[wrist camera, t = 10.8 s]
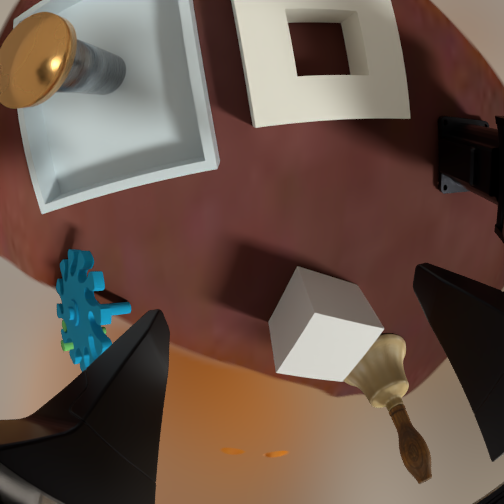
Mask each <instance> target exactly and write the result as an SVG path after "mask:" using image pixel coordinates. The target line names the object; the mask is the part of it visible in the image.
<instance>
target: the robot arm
mask: <svg viewBox="0 0 504 504" xmlns="http://www.w3.org/2000/svg"><path fill="white" fill-rule="evenodd" d="M495 119H496V124H497V128H498V130H497V129H493V128H489V124H488V123H487V122H486V121H481V120H474V119H466V118H457V117H447V116H440V117H439V119H438V129H439V183H438V188H439V191H440V192H442V193H455V192H466V191H471V192H473V193H475V194H477V195H479V196H481V197H483V198H485V199H487V200H489V201H491V202H493V203H495V204H496V205H498V212H497V222H496V224H495V233H496V234H497V235H498V236H499V238H500V239H501V240H502V241H503V243H504V116H495ZM443 121H445V124H443ZM484 125H485V127H484ZM444 185H445V187H444V189H443V186H444ZM413 289H414V292H415V294H416V296H417V298H418V300H419V302H420V304H421V306H422V309H423V311H424V313H425V315H426V318H427V320H428V322H429V324H430V326H431V327H432V329H433V331H434V333H435V335H436V336H437V338H438V340H439V342H440V344H441V346H442V347H443V349H444V351H445V353H446V355H447V357H448V359H449V361H450V363H451V365H452V367H453V369H454V371H455V373H456V375H457V377H458V379H459V381H460V383H461V385H462V388H463V390H464V392H465V394H466V396H467V399H468V401H469V403H470V405H471V408H472V410H473V412H474V414H475V417H476V420H477V422H478V425H479V428H480V430H481V433H482V435H483V438H484V441H485V443H486V446H487V449H488V452H489V455H490V458H491V460H492V462H493V461H495V460H496V459H498V458H499V457H500V456H502V455H503V454H504V292H502V291H501V290H498V289H496V288H493V287H491V286H488V285H486V284H483V283H480V282H478V281H475V280H472V279H470V278H467V277H465V276H462V275H459V274H456V273H454V272H451V271H448V270H446V269H443V268H440V267H437V266H434V265H432V264H429V263H423V264H418V265H417V266H416V269H415V275H414V281H413ZM169 339H170V331H169V327H168V325H167V322H166V320H165V317H164V315H163V313H162V311H161V310H160V309H157V310H149V311H148V312H147V313H146V314H145V315H143V316H142V317H141V318H140V319H139V320H138V321H137V322H136V323H135V324H134V325H132V326H131V327H130V328H129V329H128V330H127V331H126V332H125V333H124V334H123V335H122V336H120V337H119V338H118V339H117V340H116V341H115V342H114V343H113V344H112V345H111V346H110V347H109V348H107V349H106V350H105V351H104V352H103V353H102V354H101V355H100V356H99V357H98V358H97V359H96V360H95V361H94V362H92V363H91V364H90V365H89V366H88V367H87V368H86V370H84V371H83V372H82V373H81V374H80V375H79V376H78V377H77V378H75V379H74V380H73V381H72V382H71V383H70V384H69V385H68V386H66V387H65V388H64V389H63V390H62V391H61V392H59V393H58V394H57V395H56V396H54V397H53V398H52V399H51V400H49V401H48V402H47V403H46V404H45V405H43V406H42V407H41V408H40V409H39V410H37V411H36V412H35V413H33V414H32V415H30V416H28V417H26V418H22V419H16V420H15V419H14V420H0V504H155V490H156V483H155V482H156V474H157V462H158V450H159V441H160V432H161V423H162V415H163V407H164V398H165V391H166V384H167V377H168V367H169ZM473 504H504V482H503V483H502V484H500V485H499V486H498V487H496V488H495V489H494V490H492V491H491V492H489V493H488V494H486V495H485V496H484V497H482V498H481V499H479V500H478V501H476V502H474V503H473Z"/></svg>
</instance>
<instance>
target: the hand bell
mask: <svg viewBox="0 0 504 504" xmlns="http://www.w3.org/2000/svg"><path fill="white" fill-rule="evenodd" d="M405 353H406V344H405V341H404V339H403V338H402V337H400V336H398V335H395V334H384V335H379V337H378V338H377V339H376V341H375V342H374V343H373V345H372V346H371V347H370V349H369V350H368V351H367V352H366V354H365V355H364V356H363V358H362V359H361V360H360V361H359V362H358V364H357V365H356V366H355V367H354V369H353V370H352V371H351V372H350V373H349V375H348V376H347V377H346V378H345V379H344V380H343V381H344V382H346V383H347V384H349V385H352V386H356V387H358V388H359V389H361V390H362V392H363V393H364V394H365V396H366V397H367V399H368V400H369V402H370V404H371V405H372V406H374V407H376V408H377V407H378V408H381V407H387V409H388V411H389V414H390V416H391V417H392V420H393V422H394V424H395V427H396V429H397V432H398V436H399V449H400V454H401V457H402V460H403V463H404V465H405V467H406V468H407V470H408V471H409V472H410V473H411V474H412V475H413V476H414V478H415V479H416V480H417V481H418V483H419V484H421V483H423V482H426V481H427V480H429V479H431V477H432V474H431V457H430V452H429V449H428V447H427V444H426V442H425V441H424V439H423V437H422V436H421V435H420V434H419V433H418V432H417V430H416V429H415V428H414V427H413V425H412V423H411V421H410V419H409V416H408V414H407V411H406V410H405V409H406V408H405V406H404V405H403V401H402V399H401V398H402V397H403V396H404V395H405V393H406V392H407V390H408V386H409V385H408V381H407V379H406V376H405V373H404V368H403V359H404V357H405Z"/></svg>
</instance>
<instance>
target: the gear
mask: <svg viewBox="0 0 504 504" xmlns="http://www.w3.org/2000/svg"><path fill="white" fill-rule="evenodd" d="M93 265H94V259H93V256H92V254H91V252H90V251H81V250H74V249H69V250H68V259H63V260H62V261H61V263H60V270H61V273H62V278H63V279H58V280H57V284H56V290H57V293H58V294H59V295H60V297H61V300H62V304H57V316H58V318H62V319H63V321H62V327H63V329H62V330H61V334H62V338H63V340H62V341H61V346H62V349H63V351H69V350H70V352H69V353H70V357H71V359H72V361H73V363H74V364H78V363H80V368H81V370H82V372H83V371H84V370H86V368H87V367H88V366H89V365H90V364H91V363H92V362H94V361H95V360H96V359H97V358H98V357H99V356H100V355H101V354H102V353H103V352H104V351H105V350H106V349H107V348H109V347H110V346H111V345H112V342H111V340H110V339H109V338H108V337H107V336H106V335H105V334H106V328H105V327H101V325H106V324H111V315H120V314H128V313H130V312H131V305H130V303H129V302H120V303H109V304H100V303H99V302H98V301H97V300H96V299H95V297H94V291H103V290H104V288H105V283H104V277H103V273H102V272H101V271H91V272H89V274H88V277H87V271H88V269H91V268H92V267H93Z"/></svg>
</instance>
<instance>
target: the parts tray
mask: <svg viewBox="0 0 504 504" xmlns="http://www.w3.org/2000/svg"><path fill="white" fill-rule="evenodd" d="M39 12H50V13H53V14H56V15H58V16H61V17H63V18H65V19H67V20H68V21H69V22H70V23H71V24H72V25H73V27H74V29H75V32H76V36H77V39H78V40H81V41H84V42H86V43H89V44H91V45H94V46H96V47H99V48H101V49H104V50H106V51H108V52H111V53H113V54H115V55H118V56H119V57H121V58H122V59H123V61H124V62H125V65H126V75H125V78H124V80H123V82H122V84H121V85H120V86H119V87H118V88H117V89H116V90H115V91H113V92H112V93H109V94H106V95H97V94H83V93H62V92H55V93H54V94H53V95H52V96H51V97H50V98H49V99H48V100H46V101H45V102H43V103H41V104H39V105H37V106H34V107H26V108H17V111H18V118H19V124H20V130H21V136H22V141H23V146H24V151H25V155H26V160H27V164H28V168H29V172H30V176H31V180H32V183H33V187H34V190H35V194H36V197H37V200H38V204H39V207H40V210H41V213H42V214H45V213H48V212H50V211H53V210H56V209H59V208H63V207H66V206H69V205H72V204H75V203H78V202H82V201H85V200H88V199H92V198H95V197H99V196H102V195H106V194H109V193H113V192H117V191H121V190H124V189H128V188H132V187H136V186H140V185H144V184H148V183H152V182H157V181H161V180H165V179H170V178H175V177H179V176H184V175H189V174H194V173H199V172H204V171H209V170H214V169H218V166H219V163H220V158H219V153H218V147H217V142H216V136H215V130H214V125H213V119H212V113H211V108H210V102H209V96H208V90H207V85H206V79H205V73H204V67H203V61H202V55H201V49H200V43H199V37H198V31H197V24H196V18H195V12H194V5H193V0H42V1H40V2H39V3H37V4H36V5H34V6H33V7H31V8H30V9H28V10H27V11H25V12H24V13H22V14H21V15H20V16H18V17H17V18H15V19H14V21H13V29H14V28H15V27H16V26H17V25H18V24H19V23H20V22H22V21H23V20H24V19H26V18H27V17H29V16H31V15H33V14H36V13H39Z"/></svg>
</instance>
